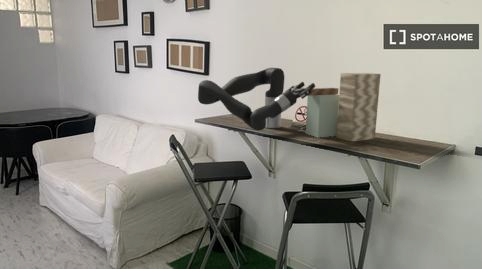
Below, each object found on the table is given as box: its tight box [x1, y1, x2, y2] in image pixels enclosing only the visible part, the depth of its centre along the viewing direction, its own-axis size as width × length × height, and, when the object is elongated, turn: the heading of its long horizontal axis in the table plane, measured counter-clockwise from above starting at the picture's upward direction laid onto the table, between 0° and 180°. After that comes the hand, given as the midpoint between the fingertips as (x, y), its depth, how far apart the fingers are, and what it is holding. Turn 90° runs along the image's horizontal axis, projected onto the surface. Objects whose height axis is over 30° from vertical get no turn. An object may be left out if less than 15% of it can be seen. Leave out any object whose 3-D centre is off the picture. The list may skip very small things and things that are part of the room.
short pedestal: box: [305, 94, 339, 139], centre depth 193 cm, size 12×10×21 cm
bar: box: [302, 87, 339, 97], centre depth 190 cm, size 22×4×3 cm, turn 117°
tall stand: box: [335, 72, 382, 142], centre depth 186 cm, size 16×10×32 cm, turn 117°
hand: (308, 84), depth 186 cm, fingers open, 8 cm apart
